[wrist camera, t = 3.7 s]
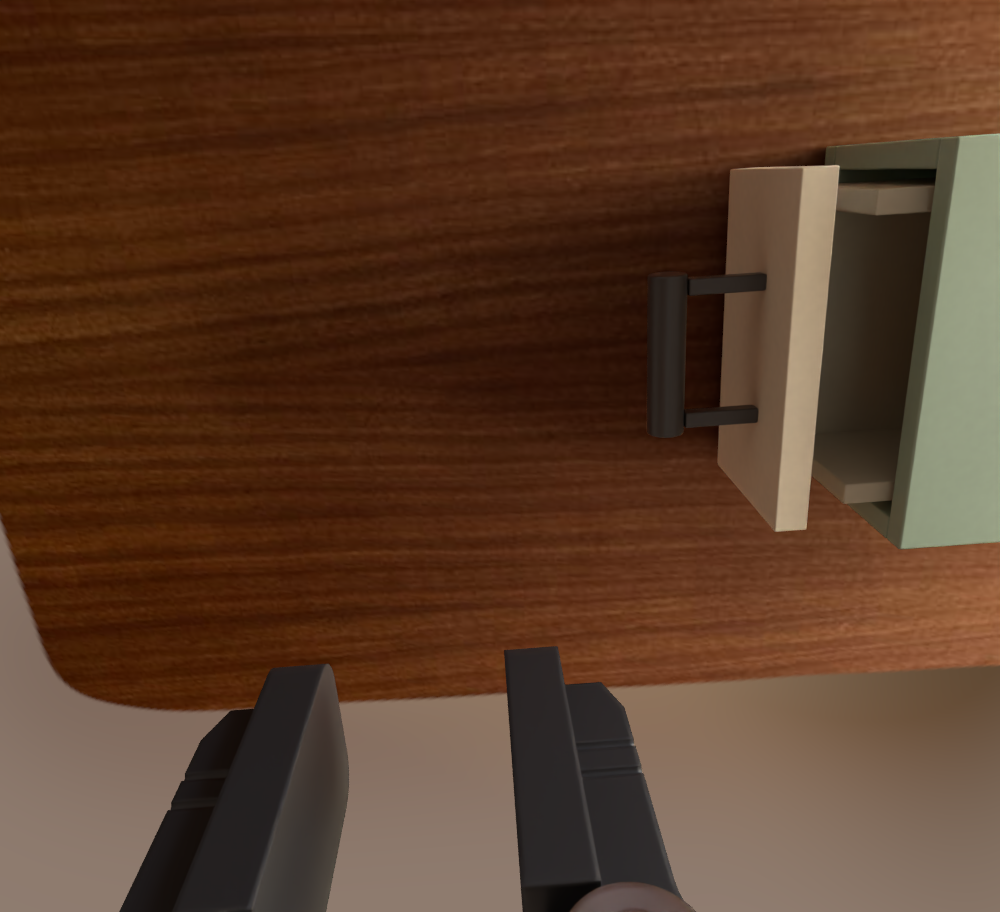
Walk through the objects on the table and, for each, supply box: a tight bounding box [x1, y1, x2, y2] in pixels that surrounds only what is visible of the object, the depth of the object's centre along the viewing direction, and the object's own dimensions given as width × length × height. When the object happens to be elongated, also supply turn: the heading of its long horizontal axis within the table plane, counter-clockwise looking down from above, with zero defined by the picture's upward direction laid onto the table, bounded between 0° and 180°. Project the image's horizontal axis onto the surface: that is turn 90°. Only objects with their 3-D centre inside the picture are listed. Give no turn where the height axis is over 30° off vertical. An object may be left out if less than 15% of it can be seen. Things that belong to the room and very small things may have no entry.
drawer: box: [647, 165, 936, 532], centre depth 29 cm, size 21×13×7 cm, turn 94°
